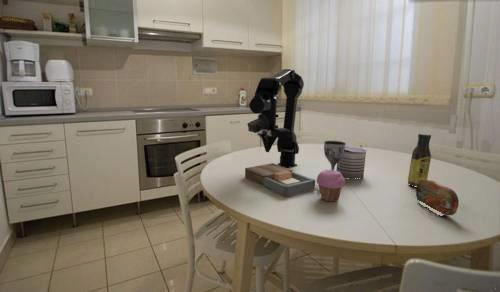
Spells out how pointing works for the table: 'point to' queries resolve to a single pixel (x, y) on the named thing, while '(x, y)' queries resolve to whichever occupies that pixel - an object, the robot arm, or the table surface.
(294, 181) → the tile front
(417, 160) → the sauce bottle
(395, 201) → the table surface
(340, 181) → the cupcake
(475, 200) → the table surface
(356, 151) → the can
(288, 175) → the tile back
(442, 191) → the reddish-brown rounded block
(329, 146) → the wine glass
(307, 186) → the tray
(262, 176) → the brown flat block
